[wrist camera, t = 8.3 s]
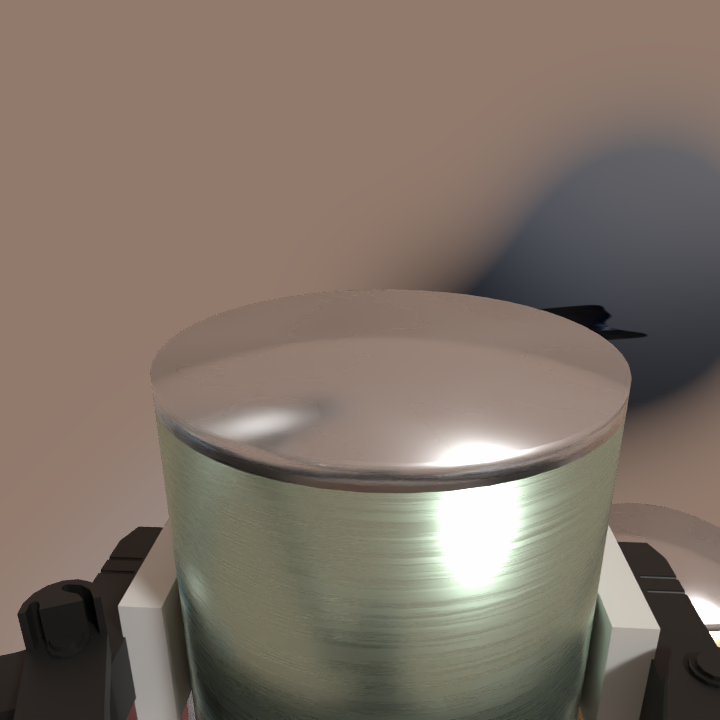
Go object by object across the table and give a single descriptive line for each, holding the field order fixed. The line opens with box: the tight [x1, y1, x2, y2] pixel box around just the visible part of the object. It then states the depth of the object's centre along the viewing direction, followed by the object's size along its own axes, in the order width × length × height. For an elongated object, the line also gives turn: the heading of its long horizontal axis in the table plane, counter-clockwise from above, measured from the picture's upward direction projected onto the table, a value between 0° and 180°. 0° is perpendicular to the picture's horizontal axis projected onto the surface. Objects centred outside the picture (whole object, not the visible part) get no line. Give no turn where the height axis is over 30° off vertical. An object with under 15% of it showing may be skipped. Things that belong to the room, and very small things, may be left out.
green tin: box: [150, 290, 631, 720], centre depth 13 cm, size 8×8×12 cm
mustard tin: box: [578, 503, 720, 720], centre depth 29 cm, size 8×8×12 cm
